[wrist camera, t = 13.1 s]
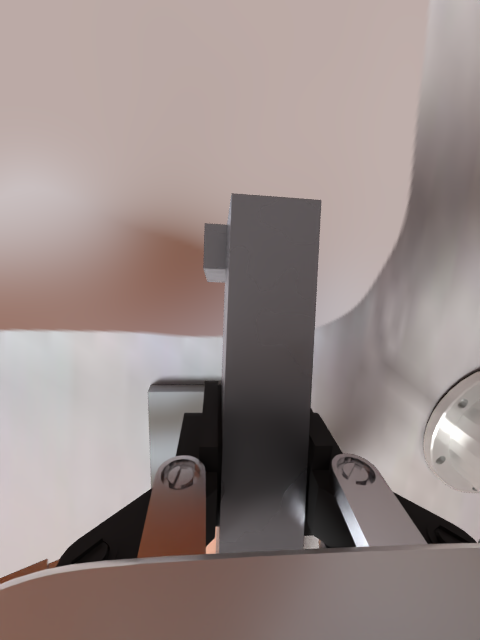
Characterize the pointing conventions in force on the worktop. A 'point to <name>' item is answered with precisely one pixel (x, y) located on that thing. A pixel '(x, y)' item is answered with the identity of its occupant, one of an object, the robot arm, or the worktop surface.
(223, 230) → the grey long bar
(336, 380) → the worktop surface
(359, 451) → the worktop surface
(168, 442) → the cubby
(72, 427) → the worktop surface
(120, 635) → the robot arm
